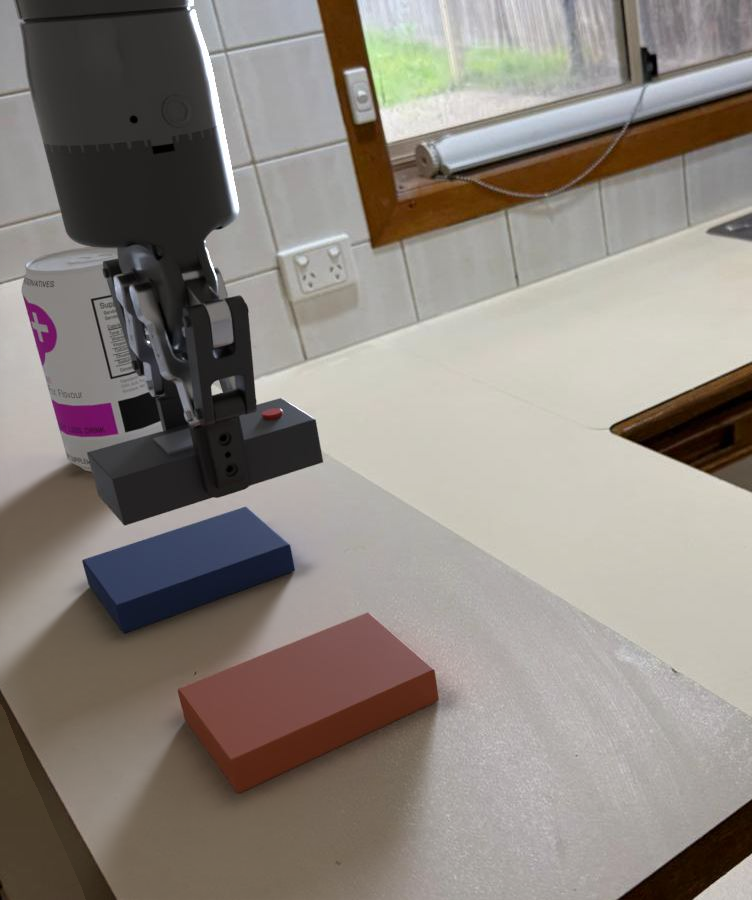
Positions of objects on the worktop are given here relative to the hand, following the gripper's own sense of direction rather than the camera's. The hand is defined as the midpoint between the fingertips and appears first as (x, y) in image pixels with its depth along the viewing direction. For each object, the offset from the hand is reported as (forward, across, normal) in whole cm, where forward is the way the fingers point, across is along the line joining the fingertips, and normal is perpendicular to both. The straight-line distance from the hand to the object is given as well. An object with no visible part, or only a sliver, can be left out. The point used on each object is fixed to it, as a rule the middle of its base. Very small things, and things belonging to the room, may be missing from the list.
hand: (211, 474), depth 57 cm
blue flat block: (+10, -9, 0) cm, 13 cm away
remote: (0, 0, 0) cm, 0 cm away
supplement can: (+10, -31, +3) cm, 33 cm away
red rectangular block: (+10, +8, 0) cm, 13 cm away
